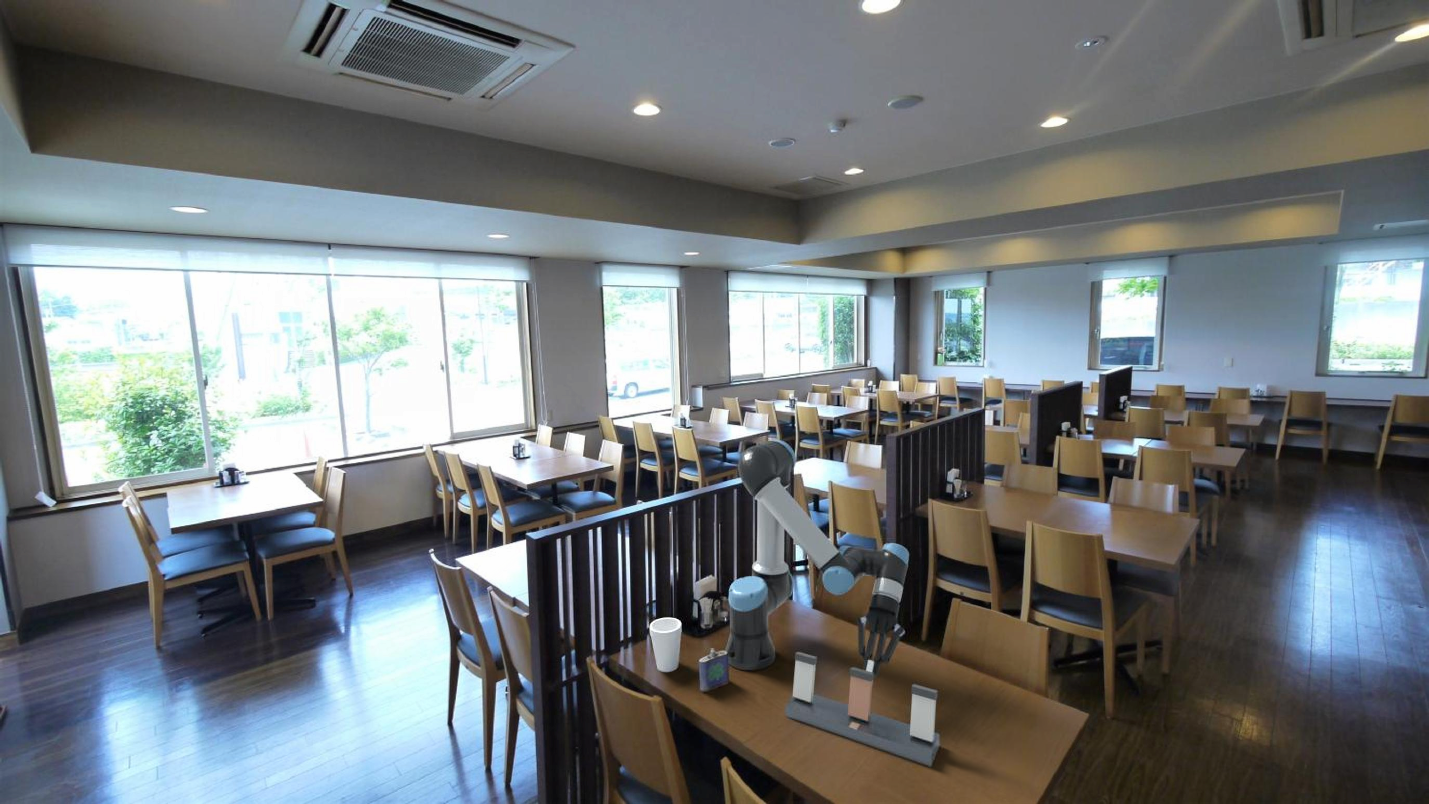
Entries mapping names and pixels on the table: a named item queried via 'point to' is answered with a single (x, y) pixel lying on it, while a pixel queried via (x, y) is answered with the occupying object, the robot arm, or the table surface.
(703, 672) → the flask
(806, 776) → the table surface
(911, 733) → the lever right
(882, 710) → the table surface
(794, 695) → the lever left
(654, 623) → the foam cup
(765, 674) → the table surface
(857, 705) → the lever middle
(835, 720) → the switch panel
